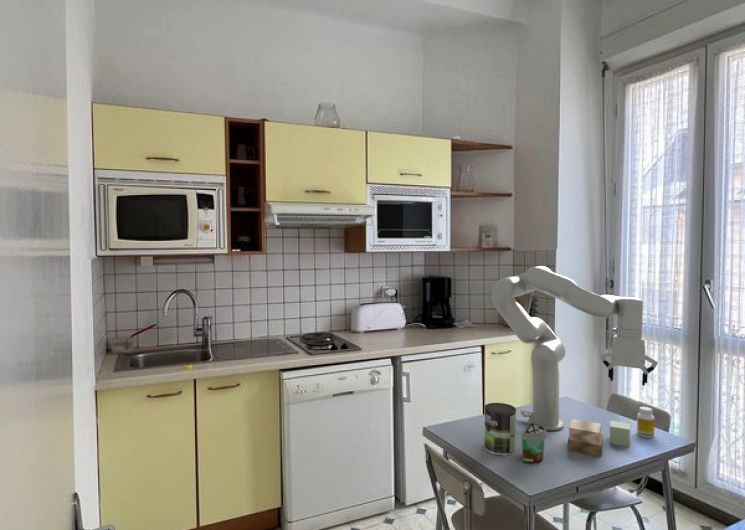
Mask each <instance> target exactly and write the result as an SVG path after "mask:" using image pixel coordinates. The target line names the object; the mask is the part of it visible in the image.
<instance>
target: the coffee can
mask: <svg viewBox="0 0 745 530" xmlns="http://www.w3.org/2000/svg"><path fill="white" fill-rule="evenodd" d="M483 408H484V439H483V440H484V442H483V443H484V444H483V445H484V446H483V447H484V450H485V451H486V452H487V453H489V454H492V455H496V456H501V457H502V456H503V457H504V456H506V457H507V456H512V455H514V454H516V433H517V432H516V428H517V427H516V423H517V421H516V420H517V416H516V415H517V408H516V407H515V406H514V405H511V404H507V403H504V402H502V403H501V402H490V403H486V404H485V405H484V407H483Z"/></svg>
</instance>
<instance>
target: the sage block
mask: <svg viewBox="0 0 745 530" xmlns="http://www.w3.org/2000/svg"><path fill="white" fill-rule="evenodd" d="M630 434H631V424H630V423H627V422H622V421H621V422H620V421H615V420H610V421H609V444H612V445H617V446H622V447H629V448H630V446H631V444H630V442H631V440H630V439H631V435H630Z"/></svg>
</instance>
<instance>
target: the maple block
mask: <svg viewBox="0 0 745 530" xmlns="http://www.w3.org/2000/svg"><path fill="white" fill-rule="evenodd" d="M601 435H602V424H601V422H594V421H593V422H592V421H586V420H581V419H574V418H572V419H571V421H570V424H569V428H568V438H569V440H574V441H580V442H585V443H590V444H596V445H599V443H600V438H601Z"/></svg>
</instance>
